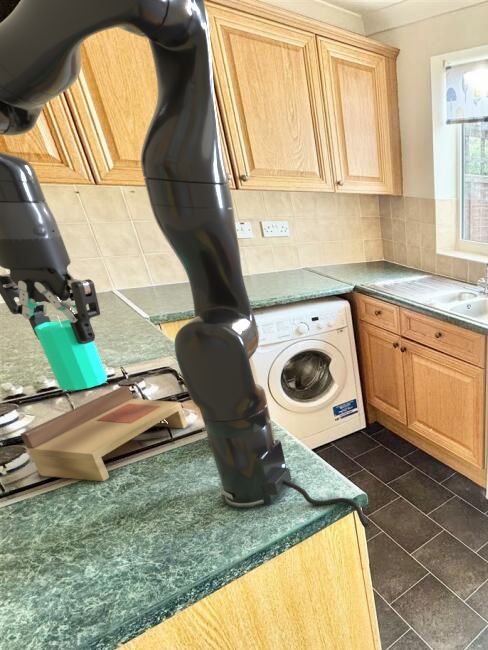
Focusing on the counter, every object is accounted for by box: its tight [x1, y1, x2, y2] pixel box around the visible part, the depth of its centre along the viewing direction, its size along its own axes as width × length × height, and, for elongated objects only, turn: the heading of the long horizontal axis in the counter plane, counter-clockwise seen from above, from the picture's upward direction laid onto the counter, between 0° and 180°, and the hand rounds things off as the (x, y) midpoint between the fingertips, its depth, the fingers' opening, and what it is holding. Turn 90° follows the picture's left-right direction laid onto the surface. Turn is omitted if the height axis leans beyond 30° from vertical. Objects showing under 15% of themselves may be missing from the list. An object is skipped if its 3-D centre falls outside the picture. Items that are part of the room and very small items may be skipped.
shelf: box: [20, 385, 188, 482], centre depth 84 cm, size 12×20×9 cm, turn 176°
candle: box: [34, 314, 108, 391], centre depth 70 cm, size 6×6×12 cm
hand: (67, 340), depth 69 cm, fingers closed on candle, 6 cm apart
